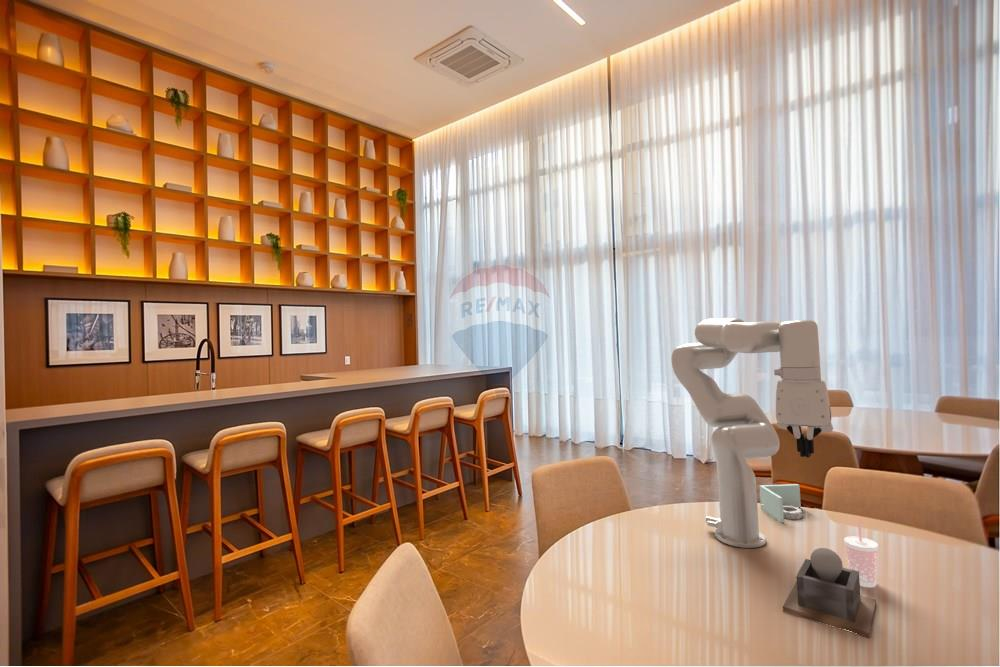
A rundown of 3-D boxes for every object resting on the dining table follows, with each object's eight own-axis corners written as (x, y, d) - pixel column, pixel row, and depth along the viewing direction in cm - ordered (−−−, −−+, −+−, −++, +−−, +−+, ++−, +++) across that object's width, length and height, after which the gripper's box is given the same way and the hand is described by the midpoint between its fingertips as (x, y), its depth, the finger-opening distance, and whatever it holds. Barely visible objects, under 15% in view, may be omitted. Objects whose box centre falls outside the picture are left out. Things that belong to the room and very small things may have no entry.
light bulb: (850, 605, 94) (847, 555, 94) (820, 604, 95) (816, 554, 95) (836, 591, 99) (833, 543, 99) (807, 589, 100) (805, 542, 100)
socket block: (783, 611, 96) (780, 577, 96) (797, 583, 106) (795, 552, 107) (869, 638, 87) (866, 600, 87) (876, 604, 97) (874, 570, 97)
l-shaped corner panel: (780, 523, 140) (779, 497, 140) (760, 508, 152) (759, 485, 152) (822, 521, 139) (820, 496, 139) (799, 507, 151) (797, 484, 151)
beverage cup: (871, 592, 101) (867, 527, 102) (840, 579, 107) (836, 518, 107) (886, 584, 104) (882, 520, 104) (855, 572, 110) (851, 512, 110)
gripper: (759, 375, 108) (764, 455, 108) (838, 376, 98) (844, 464, 98) (768, 373, 114) (772, 448, 113) (843, 373, 104) (849, 456, 103)
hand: (805, 455), depth 106 cm, fingers closed
